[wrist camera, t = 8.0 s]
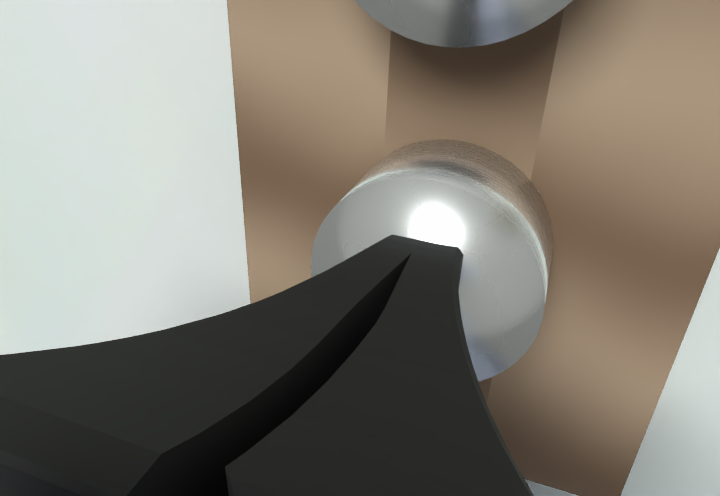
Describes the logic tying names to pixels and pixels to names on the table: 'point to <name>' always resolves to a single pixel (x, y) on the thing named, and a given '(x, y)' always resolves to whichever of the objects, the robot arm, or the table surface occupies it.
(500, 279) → the button
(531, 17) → the button middle
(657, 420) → the table surface
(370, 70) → the button panel
